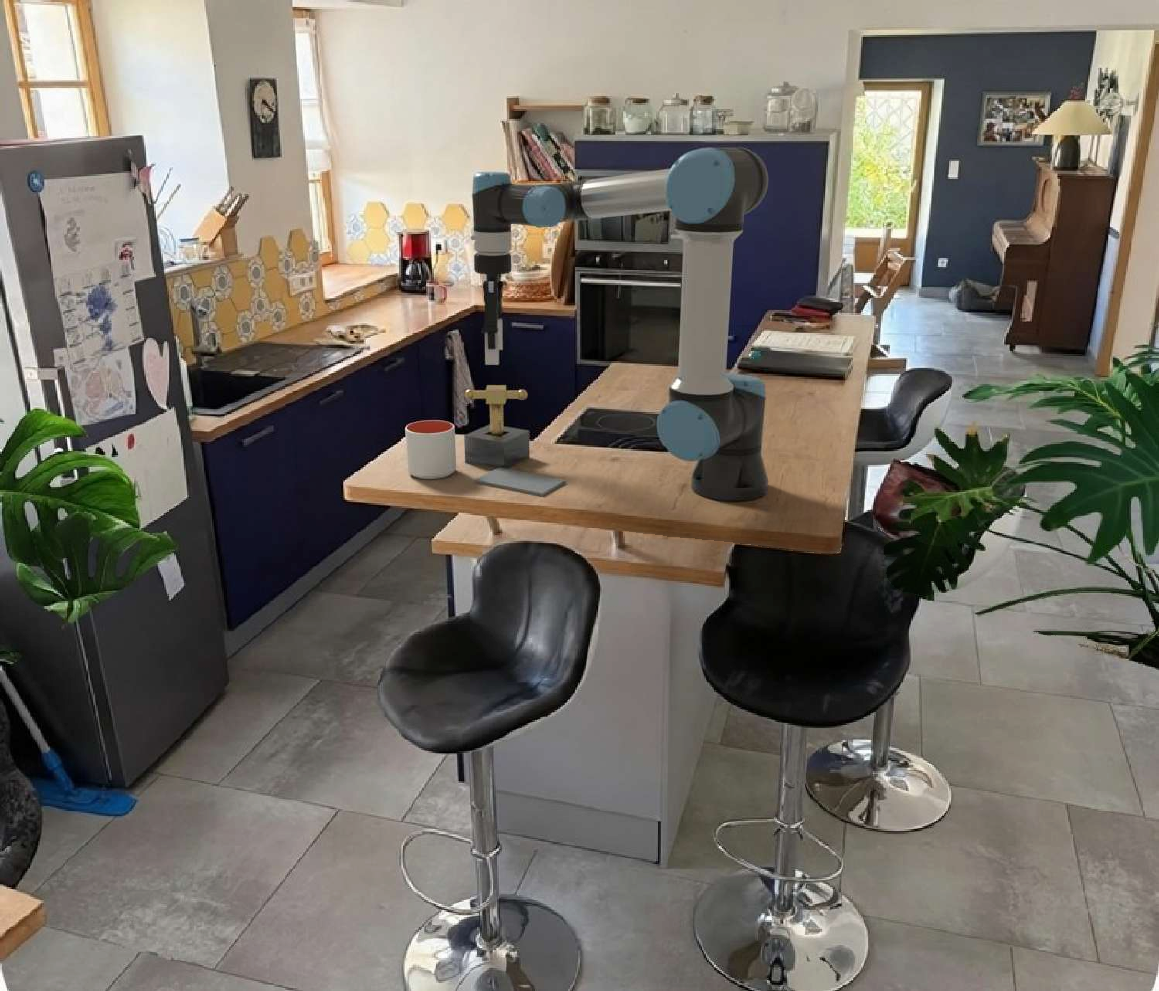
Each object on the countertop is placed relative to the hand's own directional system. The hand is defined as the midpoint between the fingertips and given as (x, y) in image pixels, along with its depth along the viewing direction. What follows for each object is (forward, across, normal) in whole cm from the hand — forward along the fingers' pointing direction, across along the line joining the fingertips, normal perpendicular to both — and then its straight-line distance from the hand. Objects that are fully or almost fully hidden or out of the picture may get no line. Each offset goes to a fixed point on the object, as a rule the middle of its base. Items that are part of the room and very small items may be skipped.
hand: (494, 356), depth 212 cm
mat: (+22, +15, +6) cm, 28 cm away
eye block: (+22, 0, 0) cm, 23 cm away
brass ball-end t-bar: (+22, 0, 0) cm, 23 cm away
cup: (+23, +9, -13) cm, 28 cm away
